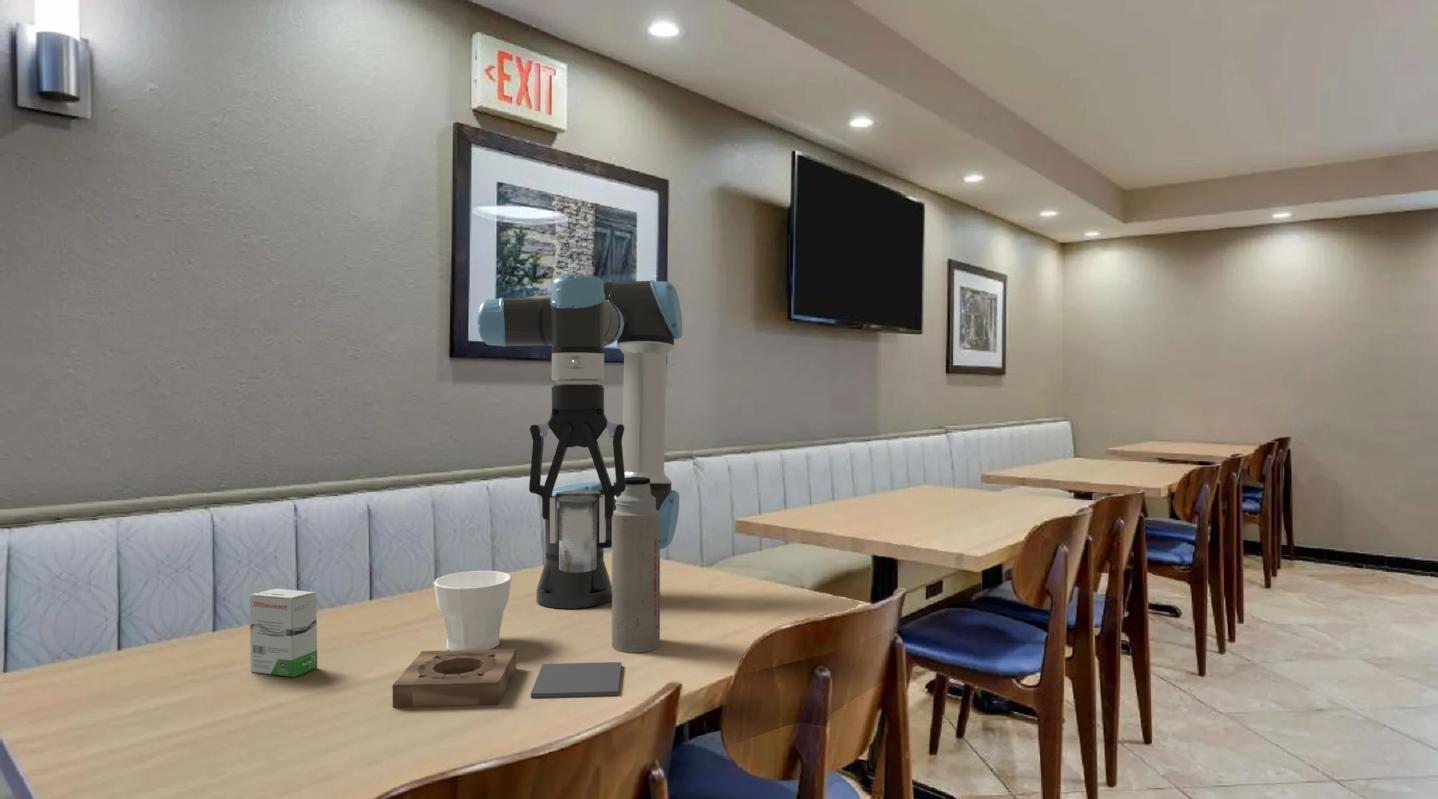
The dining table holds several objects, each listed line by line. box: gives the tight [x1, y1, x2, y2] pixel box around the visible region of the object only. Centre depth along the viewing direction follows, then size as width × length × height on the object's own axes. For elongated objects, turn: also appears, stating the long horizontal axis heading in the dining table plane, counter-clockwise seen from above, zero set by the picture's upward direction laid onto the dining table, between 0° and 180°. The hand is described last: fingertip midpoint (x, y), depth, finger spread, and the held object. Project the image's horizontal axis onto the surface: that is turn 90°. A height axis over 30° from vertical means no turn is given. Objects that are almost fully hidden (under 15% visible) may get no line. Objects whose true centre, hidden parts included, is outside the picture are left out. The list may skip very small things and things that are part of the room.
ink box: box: [249, 588, 318, 678], centre depth 124 cm, size 9×5×12 cm, turn 71°
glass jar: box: [556, 490, 600, 572], centre depth 119 cm, size 6×6×11 cm
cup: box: [433, 570, 512, 651], centre depth 136 cm, size 12×12×11 cm
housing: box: [392, 648, 517, 708], centre depth 117 cm, size 14×14×3 cm
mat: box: [530, 661, 622, 699], centre depth 120 cm, size 12×12×1 cm
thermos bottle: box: [611, 477, 661, 653], centre depth 136 cm, size 8×8×28 cm
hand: (578, 540), depth 119 cm, fingers closed on glass jar, 6 cm apart
